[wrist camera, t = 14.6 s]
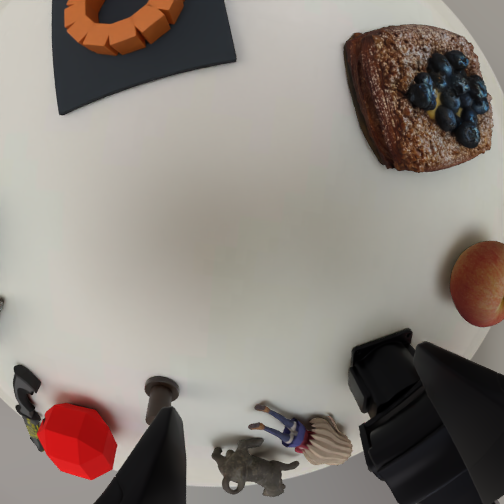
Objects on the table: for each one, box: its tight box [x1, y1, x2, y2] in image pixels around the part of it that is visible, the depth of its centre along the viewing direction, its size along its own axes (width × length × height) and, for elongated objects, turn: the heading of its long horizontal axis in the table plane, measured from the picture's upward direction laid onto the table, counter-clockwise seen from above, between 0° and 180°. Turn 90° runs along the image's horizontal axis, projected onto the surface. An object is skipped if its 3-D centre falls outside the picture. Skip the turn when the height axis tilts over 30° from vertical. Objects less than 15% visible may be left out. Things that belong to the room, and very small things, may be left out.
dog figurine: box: [212, 439, 299, 497], centre depth 26 cm, size 12×6×7 cm, turn 41°
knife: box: [13, 365, 45, 452], centre depth 25 cm, size 23×2×5 cm
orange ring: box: [64, 0, 185, 56], centre depth 11 cm, size 7×7×2 cm
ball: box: [37, 403, 117, 480], centre depth 21 cm, size 8×8×8 cm
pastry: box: [344, 24, 494, 173], centre depth 14 cm, size 11×12×6 cm
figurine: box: [248, 405, 352, 465], centre depth 26 cm, size 6×4×15 cm
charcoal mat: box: [52, 0, 236, 115], centre depth 12 cm, size 12×12×1 cm
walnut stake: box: [145, 377, 179, 425], centre depth 22 cm, size 3×3×4 cm
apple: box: [450, 241, 504, 327], centre depth 19 cm, size 8×8×8 cm
